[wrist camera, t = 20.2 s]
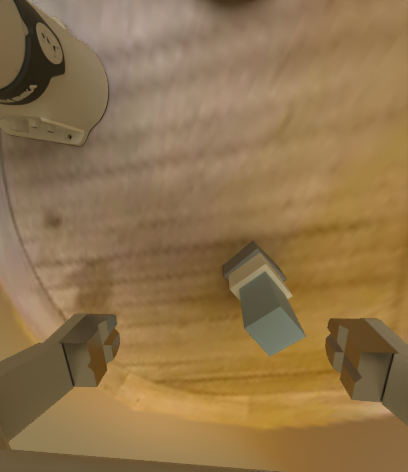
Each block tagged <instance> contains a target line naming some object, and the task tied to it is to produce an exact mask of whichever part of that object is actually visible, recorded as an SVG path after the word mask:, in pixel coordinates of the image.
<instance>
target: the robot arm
mask: <svg viewBox="0 0 408 472" xmlns="http://www.w3.org/2000/svg"><path fill="white" fill-rule="evenodd" d="M107 101H108V82H107V77H106V74H105V71H104V68H103V66H102V64H101V62H100V60H99V58H98V57H97V56H96V54H95V53H94V52H93V51H92V50H91V49H90V48H89V47H88V46H87V45H86V44H84V43H83V42H81V41H80V40H78V39H77V38H75V37H74V36H73V35H72V34H71V32H70V31H69V29H68V28H67V27H66V25H65V24H64V23H63V22H62V21H61V20H59V19H58V18H57V17H54V16H52V17H49V16H48V15H47V14H45V13H44V12H43V11H42V10H40V9H39V8H38V7H36V6H35V5H34V4H32V3H31V2H30V1H28V0H0V128H1V129H2V130H3V131H4V132H5V133H6V134H9V135H13V136H18V137H25V138H31V139H38V140H44V141H51V142H57V143H63V144H70V145H76V146H81V145H83V144H84V143H85V141H86V139H87V136H88V133H89V131H90V130H91V128H92V127H93V126H94V125H95V124H96V123H97V122H98V121H99V120H100V119H101V117H102V115H103V113H104V111H105V109H106V105H107ZM70 136H72V139H70ZM116 325H117V320H116V316H114V315H113V314H92V313H90V314H88V313H77V314H74V315H73V316H72V317H71V318H70V319H69V320H67V321H66V322H65V323H64V324H63V325H62V326H61V327H60V328H59V329H58V330H57V331H55V332H54V333H53V334H52V335H51V336H50V337H49V338H48V339H47V340H46V341H45V342H43V343H38V344H35V345H33V346H31V347H29V348H27V349H25V350H23V351H21V352H19V353H17V354H15V355H13V356H11V357H9V358H7V359H4V360H2V361H0V472H278V471H266V470H254V469H241V468H229V467H218V466H205V465H192V464H181V463H169V462H157V461H145V460H132V459H120V458H108V457H96V456H84V455H71V454H59V453H47V452H35V451H23V450H11V448H10V445H9V443H8V442H9V441H10V440H11V439H12V438H14V437H15V436H16V435H17V434H19V433H20V432H21V431H22V430H23V429H25V428H26V427H27V426H28V425H29V424H30V423H32V422H33V421H34V420H35V419H37V418H38V417H39V416H40V415H41V414H43V413H44V412H45V411H46V410H47V409H49V408H50V407H51V406H52V405H54V404H55V403H56V402H57V401H58V400H60V399H61V398H62V397H63V396H64V395H66V394H67V393H68V392H69V391H70V390H72V389H73V387H97V386H98V384H99V383H100V381H101V379H102V378H103V376H104V374H105V373H106V371H107V364H108V363H109V362H110V361H112V360H113V359H114V358H115V356H116V354H117V352H118V349H119V345H120V336H119V332H118V331H117V330H116V329H115V326H116ZM327 328H328V330H329V331H330V332H331V334H330V335H329V336H328V337H327V338H326V343H325V348H326V354H327V357H328V360H329V362H330V364H331V365H332V367H333V368H334V369H335V370H337V371H338V372H340V373H341V375H340V381H341V383H342V384H343V386H344V388H345V389H346V391H347V393H348V394H349V396H350V398H351V399H352V400H360V401H372V402H382V404H383V405H384V406H385V407H386V408H387V409H389V410H390V411H391V412H392V413H393V414H394V415H396V416H397V417H398V418H399V419H400V420H402V421H403V422H404V423H405V424H406V425H408V344H407V343H405V342H404V341H403V340H402V339H401V338H400V337H399V336H398V335H396V334H395V333H394V332H393V331H392V330H391V329H390V328H389V327H388V326H386V325H385V324H384V323H383V322H382V321H381V320H379V319H377V318H360V319H341V318H330V320H329V322H328V327H327Z"/></svg>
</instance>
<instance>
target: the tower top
mask: <svg viewBox="0 0 408 472" xmlns="http://www.w3.org/2000/svg"><path fill="white" fill-rule="evenodd" d="M265 271H266V272H267V274H268V275H269V276H270V277H271V278H272V280H273V281H274V282H275V283H276V284H277V285H278V287H279V288H280V289H281V290H282V291H283V293H284V294H285V296H286V298H287V300H288V299H289V298H291V297H292V294H291V293H290V291H289V289H288V288H287V286H286V284H285V283H284V281H283V280H282V279H281V277H280V276H279V275H278V274H277V272H276V271H275V270H274V269H273V268H272V266H271V265H270V264H269V263H268V262H267V260H266V259H265V258H264V257H263V256H262V254H261V253H259V254H257V255H256V256H254V257H253V258H252V259H250V260H249V261H247V262H246V263H245V264H243V265H242V266H240V267H239V268H238V269H236V270H235V271H234V272H232V273H231V274H229V289H230V290H231V291H232V293H233V294H234V295H235V296H236V297H237V298H238V299H239V300H240V302H241V299H240V291H239V289H240V288H241V287H243V286H244V285H246V284H247V283H249V282H250V281H251V280H253V279H254V278H256V277H257V276H259V275H260V274H262V273H263V272H265Z"/></svg>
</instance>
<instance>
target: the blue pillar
mask: <svg viewBox="0 0 408 472" xmlns="http://www.w3.org/2000/svg"><path fill="white" fill-rule="evenodd" d="M239 291H240V299H241V307H242V315H243V323H244V329H245V330H246V331H247V332H248V333H249V334H250V335H251V337H252V338H253V339H254V340H255V341H256V342H257V343H258V344H259V345H260V346H261V347H262V349H263V350H264V351H265V352H266V353H267V354H268V355H269V356H272V355H274V354H276V353H277V352H279V351H281V350H283V349H285V348H287V347H288V346H290V345H292V344H294V343H296V342H297V341H299V340H301V339H303V338H305V337H306V335H305V333H304V331H303V329H302V327H301V325H300V323H299V321H298V319H297V317H296V315H295V313H294V311H293V309H292V307H291V305H290V303H289V302H288V300H287V298H286V296H285V294H284V293H283V291H282V290H281V289H280V288H279V287H278V285H277V284H276V283H275V282H274V281H273V280H272V278H271V277H270V276H269V275H268V274H267V272H266V271H265V272H263V273H262V274H260V275H259V276H257V277H256V278H254V279H253V280H251V281H250V282H249V283H247V284H246V285H244V286H243V287H241V288H240V289H239Z"/></svg>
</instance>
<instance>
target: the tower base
mask: <svg viewBox="0 0 408 472" xmlns="http://www.w3.org/2000/svg"><path fill="white" fill-rule="evenodd" d="M259 253H261V254H262V256H263V257H264V258H265V259H266V260H267V262H268V263H269V264H270V265H271V266H272V268H273V269H274V270H275V271H276V272H277V274H278V275H279V276H280V277H281V279H282V280H283V281H285V280H287V279H286V278H285V276H284V274H283V273H282V271H281V270H280V268H279V267H278V266H277V265H276V264H275V263H274V262H273V261H272V260H271V259H270V258H269V256H268V255H267V254H266V253H265V252H264V251H263V250H262V249H261V248H260V247H259V246H258V245H257V244H256V243H255V242H254V241H252V242H251V243H250V244H248V245H247V246H246V247H245V248H244V249H242V250H241V251H240V252H239V253H238V254H236V255H235V256H234V257H233V258H232V259H231V260H229V261H228V262H227V263H226V264H225V265H223V276H224V277H225V278H226V279H227V280H228V281H229V274H231V273H232V272H234V271H235V270H236V269H238V268H239V267H240V266H242V265H243V264H245V263H246V262H247V261H249V260H250V259H252V258H253V257H254V256H256V255H257V254H259Z"/></svg>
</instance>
